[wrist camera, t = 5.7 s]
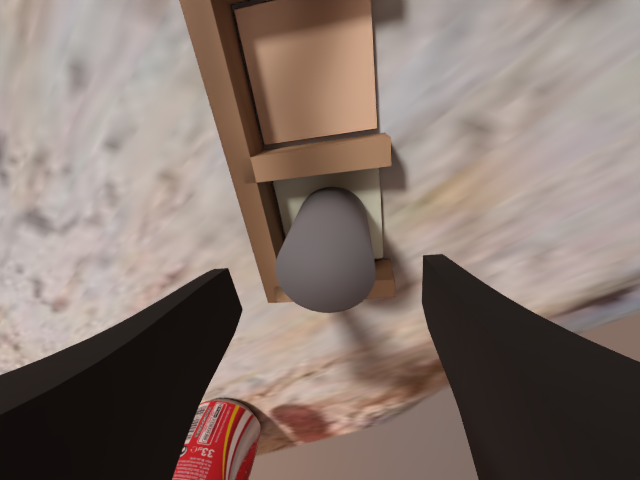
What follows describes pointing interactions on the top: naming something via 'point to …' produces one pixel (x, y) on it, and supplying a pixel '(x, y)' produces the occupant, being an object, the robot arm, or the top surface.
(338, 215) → the charcoal plug
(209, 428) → the soda can
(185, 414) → the robot arm
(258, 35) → the open-sided tray
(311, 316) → the top surface
